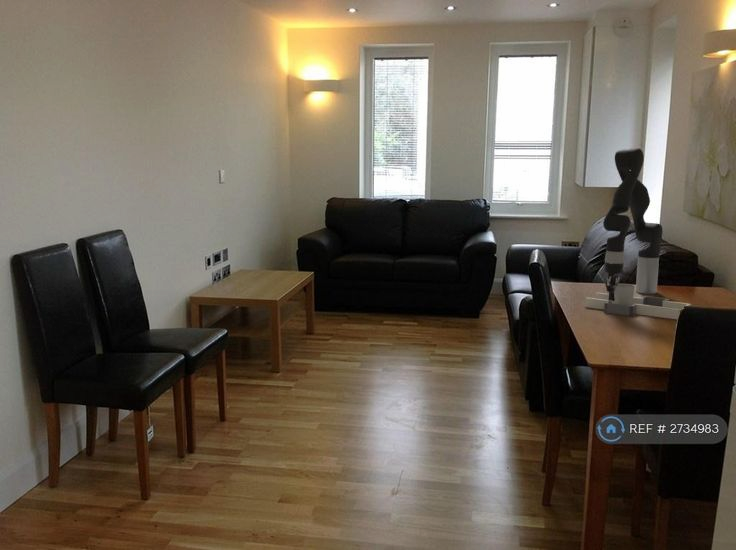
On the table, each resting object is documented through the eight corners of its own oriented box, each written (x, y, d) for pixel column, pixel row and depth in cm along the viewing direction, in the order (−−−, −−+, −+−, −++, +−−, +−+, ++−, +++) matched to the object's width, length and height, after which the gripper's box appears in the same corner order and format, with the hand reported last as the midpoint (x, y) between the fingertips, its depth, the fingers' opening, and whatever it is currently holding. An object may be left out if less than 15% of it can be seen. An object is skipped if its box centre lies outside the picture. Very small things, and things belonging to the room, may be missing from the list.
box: (600, 299, 294) (601, 290, 294) (693, 310, 271) (693, 301, 270) (580, 309, 275) (581, 300, 275) (678, 322, 252) (679, 312, 251)
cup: (631, 306, 279) (633, 284, 277) (633, 310, 272) (635, 287, 270) (612, 305, 282) (613, 283, 280) (613, 309, 274) (614, 286, 272)
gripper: (610, 258, 283) (607, 297, 287) (600, 262, 273) (597, 302, 276) (628, 260, 279) (625, 299, 282) (618, 264, 269) (615, 304, 272)
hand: (611, 300), depth 279 cm, fingers closed
